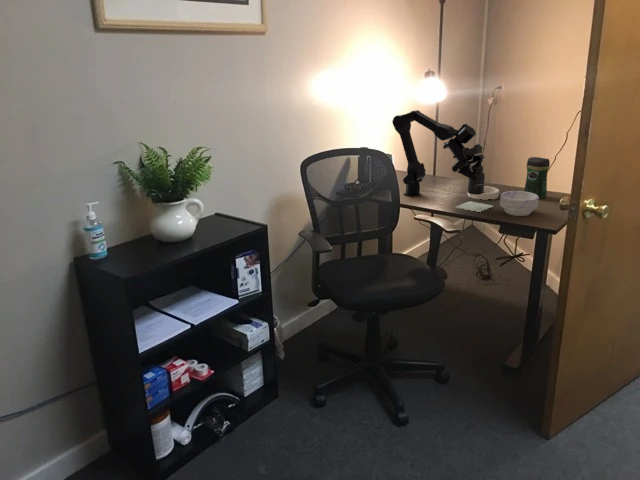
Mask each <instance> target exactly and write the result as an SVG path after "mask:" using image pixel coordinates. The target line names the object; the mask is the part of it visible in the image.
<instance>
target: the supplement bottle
mask: <svg viewBox="0 0 640 480" xmlns="http://www.w3.org/2000/svg"><path fill="white" fill-rule="evenodd" d="M471 171H472V172H473V174H474V176H475V178H476V180H472V179H470V178H468V179H467V180H468V181H467V182H468V183H467V193H469V194H474V195H479V194H483V192H484V186H485V182H486V181H485V180H486V173H485V172H484V165H482V164H481V165H473V166H472V169H471ZM482 171H483V172H482Z"/></svg>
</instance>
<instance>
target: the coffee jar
mask: <svg viewBox="0 0 640 480" xmlns="http://www.w3.org/2000/svg"><path fill="white" fill-rule="evenodd" d="M525 167H526V180H525V183H524V184H525V185H524V190H523V191H524V192H530V193H533V194H536V195H538V197H539V199H542V200H543V199H545V198H546V197H547V192H548V190H547V189H548V186H547V185H548V183H547V182H548V180H547V179H548V172H549V170H550V168H551V167H550V159H549V158H546V157H540V156H539V157H537V156H531V157H529V158H527V162H526V166H525Z"/></svg>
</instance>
